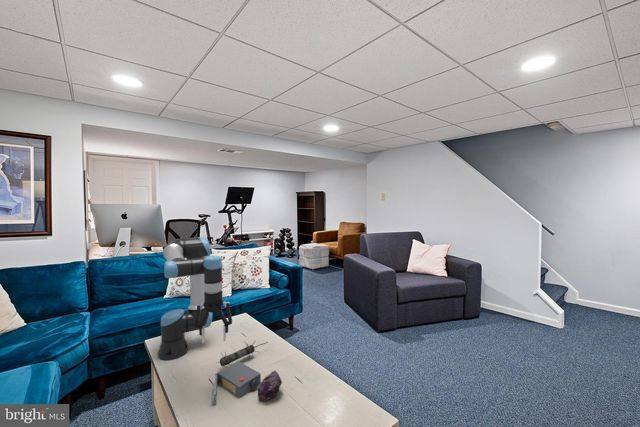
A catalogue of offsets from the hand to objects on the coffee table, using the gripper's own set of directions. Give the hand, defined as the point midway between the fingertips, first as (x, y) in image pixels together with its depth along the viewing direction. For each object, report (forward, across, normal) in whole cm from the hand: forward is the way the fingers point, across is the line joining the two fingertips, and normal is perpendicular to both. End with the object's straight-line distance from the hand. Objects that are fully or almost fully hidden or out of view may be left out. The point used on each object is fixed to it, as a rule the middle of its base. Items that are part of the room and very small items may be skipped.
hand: (214, 340), depth 125 cm
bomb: (+24, -12, -23) cm, 35 cm away
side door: (+23, 0, +2) cm, 23 cm away
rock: (+24, -25, +8) cm, 35 cm away
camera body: (+23, -10, -3) cm, 26 cm away
